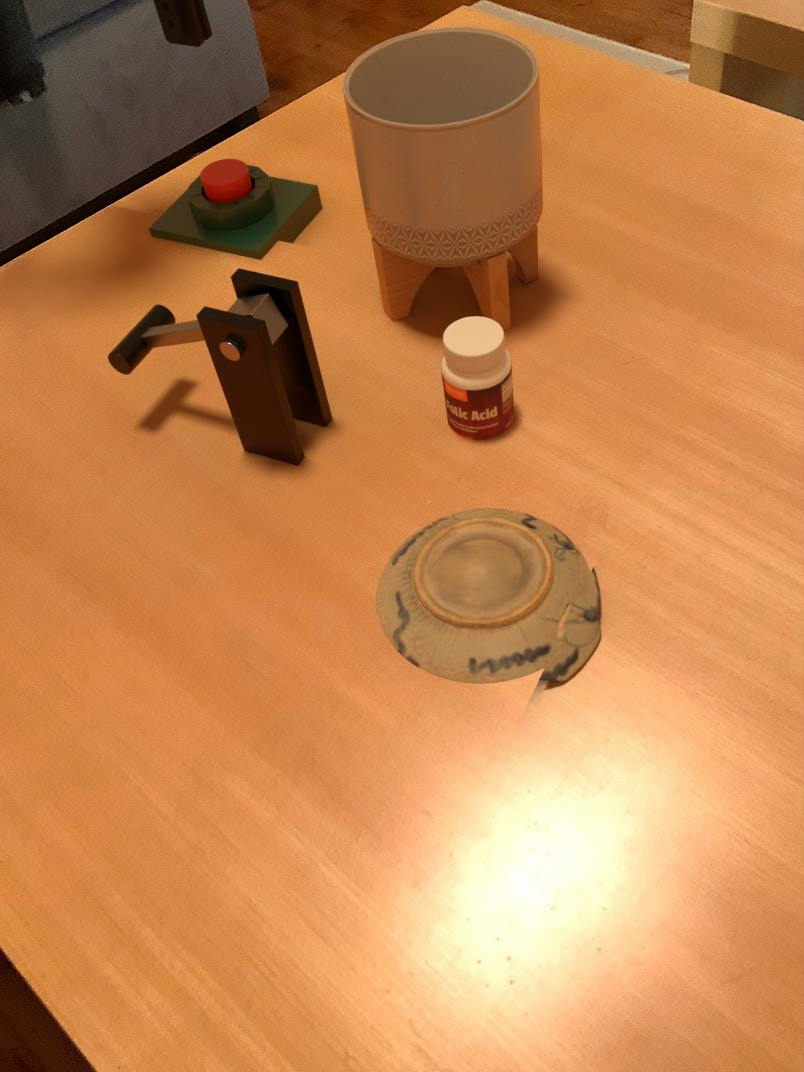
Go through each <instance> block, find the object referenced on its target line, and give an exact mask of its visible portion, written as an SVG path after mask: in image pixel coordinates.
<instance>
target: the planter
mask: <svg viewBox="0 0 804 1072" xmlns="http://www.w3.org/2000/svg"><path fill="white" fill-rule="evenodd" d="M540 78H541V77H540V65H539V60H538V58H537V56H536V54H535V53H534V51H533V50H532V49H531V48H530V47H529V46H528V45H527V44H525V43H524V42H523V41H521V40H519V39H518V38H515V37H513V36H512V35H509V34H506V33H503V32H500V31H496V30H493V29H487V28H482V27H472V26H444V27H432V28H425V29H420V30H416V31H412V32H407V33H403V34H400V35H398V36H394V37H392V38H390V39H386V40H383V41H382V42H380V43H378V44H376V45H374V46H372V47H371V48H369V49H368V50H366V51H364V52H363V53H362V54H361V55H359V56H358V57H357V58H355V60H354V61H352V63H351V64H350V65H349V67H348V68H347V69H346V72H345V74H344V77H343V80H342V93H343V98H344V105H345V110H346V115H347V120H348V121H347V122H348V125H349V126H348V127H349V132H350V137H351V142H352V150H353V153H354V154H353V155H354V160H355V165H356V170H357V177H358V181H359V187H360V193H361V199H362V204H363V205H362V206H363V210H364V216H365V221H366V225H367V229H368V232H369V233H370V235H371V238H370V240H371V245H372V250H373V257H374V262H375V268H376V273H377V278H378V284H379V290H380V295H381V301H382V302H381V303H382V307H383V312H384V313H385V315H386V316H387V317H388V318H389V320H390V321H391V322H395V321H397V320H400V319H403V318H405V317H407V316H410V312H411V308H412V305H413V301H414V299H415V296H416V294H417V292H418V290H419V289H420V287H421V285H422V283H423V282H424V281H425V280H426V279H427V277H428V276H429V275H430V274H431V273H432V272H433V271H434V270H435V269H436V268H439V267H440V268H459V267H461V268H462V270H463V271H464V273H465V275H466V277H467V279H468V282H469V284H470V286H471V287H472V290H473V292H474V294H475V295H474V296H475V297H476V300H477V303H478V307H479V310H480V313H481V317H486V318H490V319H492V320H494V321H496V322H497V323H498V324H499V325H500V326H501V327H502V329H503V331H504V332H505V331H506V330H509V329H511V327H512V323H511V307H510V290H509V289H510V288H509V275H508V259H507V253H509V254H510V257H511V259H512V260H513V263H514V266H515V274H516V275H517V277H518V278H519V279H520V280H521V281H522V282H523V283H524V284H528V283H531V282H533V281H536V280H539V278H540V271H539V269H540V268H539V242H538V241H539V240H538V237H539V235H538V223H539V222H540V219H541V217H542V214H543V207H544V193H543V192H544V191H543V188H544V187H543V156H542V155H543V154H542V122H541V121H542V120H541V119H542V118H541V116H542V115H541V87H540V86H541V84H540V83H541V82H540V81H541V79H540Z"/></svg>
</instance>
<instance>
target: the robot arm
mask: <svg viewBox="0 0 804 1072" xmlns="http://www.w3.org/2000/svg"><path fill="white" fill-rule="evenodd" d="M152 1H153V4H154V7H155V11H156V14H157V16H158V19H159V23H160V26H161V29H162V33H163V35H164V38H165V40H166V41H167V42H168V43H169V44H172V45H173V44H174V45H181V46H189V47H196V48H199V47H201V46H202V45H204V43H205V41H208V40H209V39H210V38H211V37H212V36H213V31H212V27H211V24H210V21H209V16H208V13H207V10H206V7H205V6H206V5H205V2H204V0H152Z"/></svg>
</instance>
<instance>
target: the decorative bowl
mask: <svg viewBox="0 0 804 1072" xmlns="http://www.w3.org/2000/svg"><path fill="white" fill-rule="evenodd" d="M600 594H601V590H600V583H599V579H598V575H597V572H596V570H595V568H594V566H592V569H591V568H590V566H589V563H588V561H587V560H586V558H585V556H584V555H583V553H582V551H581V550H580V548H579V547H578V546H577V545H576V543H575V542H574V541H573V540H572V539H571V538H570V537H569V536H568V535H567V534H565V533H564V532H563V531H562V530H560V529H559V528H557V527H556V526H554V525H553V524H552V523H549V522H547V520H544V519H542V518H539V517H537V516H534V515H531V514H528V513H525V512H521V511H517V510H510V509H505V508H490V507H489V508H487V507H486V508H473V509H467V510H461V511H457V512H454V513H451V514H448V515H445V516H443V517H440V518H437V519H435V520H434V521H432V522H431V524H428V525H426V526H424V527H422V528H420V529H418V530H416V531H415V532H414V533H412V534H411V536H409V537H408V538H407V539H405V541H404V542H402V543H401V545H400V546H399V547H398V548H396V550H395V551H394V552H393V554H392V555H391V556H390V558H389V559H388V561H387V562H386V564H385V566H384V567H383V570H382V571H381V573H380V575H379V578H378V581H377V585H376V591H375V607H376V608H375V610H376V611H375V612H376V617H377V620H378V623H379V625H380V628H381V630H382V631H383V633H384V636H385V637H386V638H387V640H388V641H389V643H390V644H391V645H392V647H393V648H394V649H395V650H396V652H398V654H400V656H402V657H403V658H404V659H405V660H406V661H408V662H409V663H411V664H412V665H414V666H415V667H416V668H418V669H420V670H422V671H424V672H426V673H427V674H430V675H432V676H435V677H438V678H441V679H444V680H447V681H448V680H449V681H452V682H456V683H463V684H473V685H474V684H475V685H486V684H497V683H504V682H509V681H514V680H518V679H521V678H525V677H527V676H530V675H533V674H535V673H537V672H539V671H542V670H543V671H542V673H541V674H540V677H539V680H538V681H540V680H541V681H547V682H557V683H558V682H559V683H563V682H567V681H568V680H569V679H570V678H572V676H574V675H575V674H576V673H577V672H578V671H579V670H580V669H581V668H582V667H583V666H584V665H585V664H586V662H587V661H588V660H589V658H590V657H591V656H592V654H593V652H594V651H595V650H596V649H597V646H598V644H599V642H600V640H601V636H602V629H601V623H600V610H601V595H600Z"/></svg>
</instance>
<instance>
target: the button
mask: <svg viewBox="0 0 804 1072" xmlns="http://www.w3.org/2000/svg"><path fill="white" fill-rule="evenodd" d="M247 165H248V164H247V163H245V162H244V161H243V160H240V159H237V158H222V159H218V160H216V161H212V162H210V163H209V164H207V165H206V166H205V167H204V168H203V169H201V171H200V173H199V175H200V178H201V181H202V185H203V188H204V191H205V194H206V197H207V199H208V200H209V201H212V202H217V203H224V202H232V201H236V200H238V199H241V198H243V197H245V196H247V195H248V194H249V193H250V192H251V191H252V188H253V185H252V181H251V178H250V174H249V170H248V167H247Z"/></svg>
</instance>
